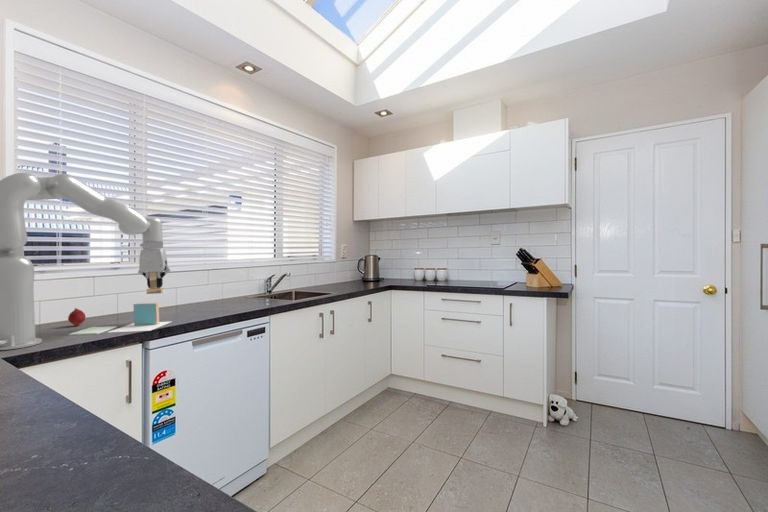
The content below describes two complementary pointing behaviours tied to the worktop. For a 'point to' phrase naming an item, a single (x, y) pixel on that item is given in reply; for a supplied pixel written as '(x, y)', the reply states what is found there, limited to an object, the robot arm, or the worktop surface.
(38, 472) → the worktop surface
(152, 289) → the wooden block stack
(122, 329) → the mat
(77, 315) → the onion
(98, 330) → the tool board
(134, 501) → the worktop surface
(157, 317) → the tile
